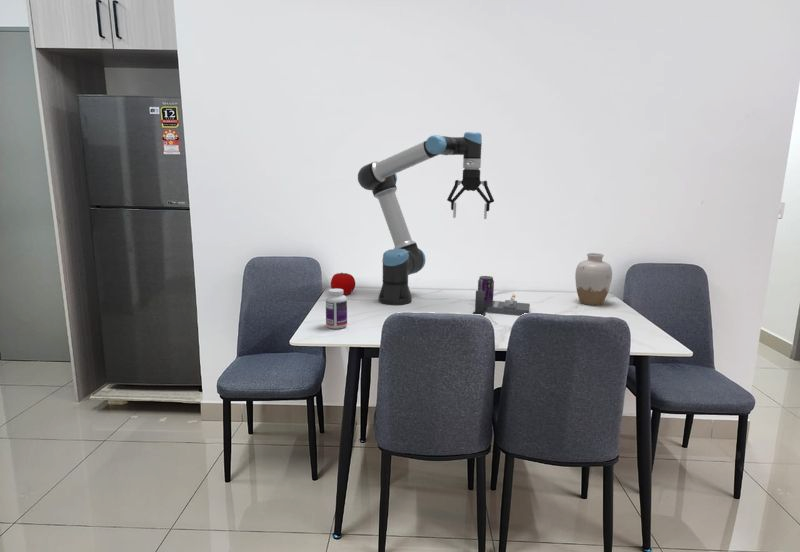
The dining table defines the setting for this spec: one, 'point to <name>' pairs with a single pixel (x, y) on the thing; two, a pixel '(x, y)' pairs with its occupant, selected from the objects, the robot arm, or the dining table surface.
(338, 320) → the pill bottle
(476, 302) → the cord post
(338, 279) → the tomato
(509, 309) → the breaker panel
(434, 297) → the dining table surface
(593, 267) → the vase
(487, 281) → the beverage can
